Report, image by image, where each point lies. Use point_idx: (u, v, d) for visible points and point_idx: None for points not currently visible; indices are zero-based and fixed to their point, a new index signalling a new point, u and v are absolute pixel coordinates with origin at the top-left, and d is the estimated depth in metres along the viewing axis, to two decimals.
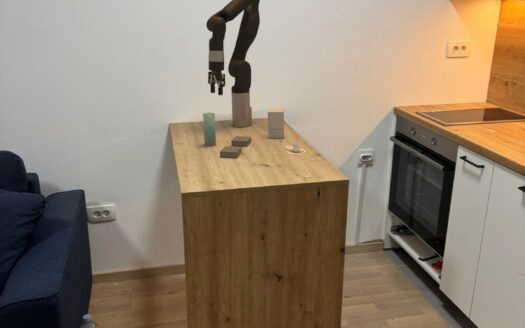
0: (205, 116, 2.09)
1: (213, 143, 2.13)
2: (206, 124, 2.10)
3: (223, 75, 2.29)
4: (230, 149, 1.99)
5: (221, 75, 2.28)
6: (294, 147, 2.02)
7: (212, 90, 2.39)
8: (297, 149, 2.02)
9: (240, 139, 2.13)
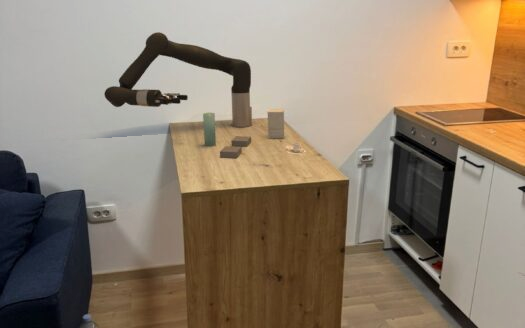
0: (205, 116, 2.09)
1: (213, 143, 2.13)
2: (206, 124, 2.10)
3: (156, 100, 2.07)
4: (230, 149, 1.99)
5: (156, 102, 2.07)
6: (294, 147, 2.02)
7: (184, 98, 2.15)
8: (297, 149, 2.02)
9: (240, 139, 2.13)
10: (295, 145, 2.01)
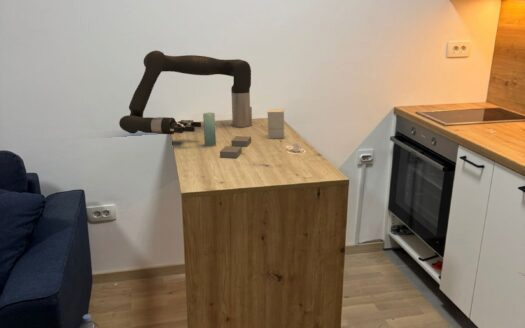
0: (205, 116, 2.09)
1: (213, 143, 2.13)
2: (206, 124, 2.10)
3: (171, 129, 2.10)
4: (230, 149, 1.99)
5: (171, 131, 2.10)
6: (294, 147, 2.02)
7: (197, 125, 2.18)
8: (297, 149, 2.02)
9: (240, 139, 2.13)
10: (295, 145, 2.01)
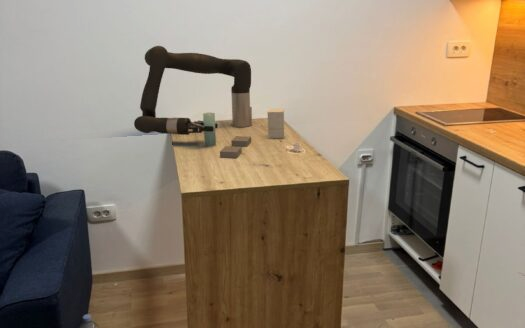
0: (205, 116, 2.09)
1: (213, 143, 2.13)
2: (206, 124, 2.10)
3: (189, 129, 2.08)
4: (230, 149, 1.99)
5: (189, 131, 2.08)
6: (294, 147, 2.02)
7: None
8: (297, 149, 2.02)
9: (240, 139, 2.13)
10: (295, 145, 2.01)
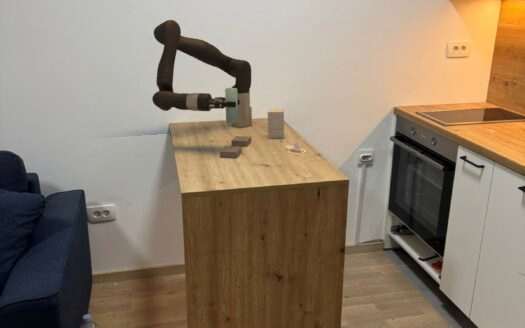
0: (227, 91, 1.99)
1: (235, 120, 2.03)
2: (228, 100, 2.00)
3: (211, 104, 1.98)
4: (230, 149, 1.99)
5: (211, 107, 1.98)
6: (294, 147, 2.02)
7: None
8: (297, 149, 2.02)
9: (240, 139, 2.13)
10: (295, 145, 2.02)
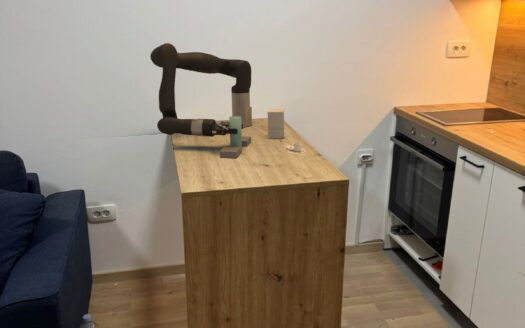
0: (232, 120, 2.02)
1: None
2: None
3: (213, 131, 2.00)
4: (230, 149, 1.99)
5: (213, 133, 2.01)
6: (295, 147, 2.02)
7: None
8: (297, 149, 2.02)
9: None
10: (295, 145, 2.02)
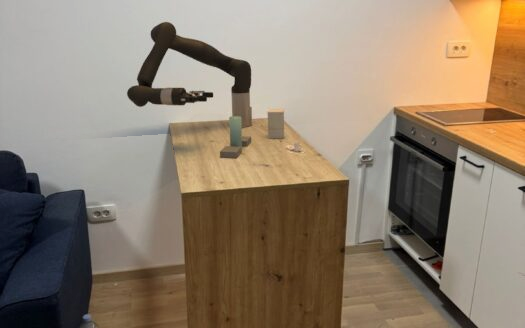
0: (232, 120, 2.02)
1: None
2: (232, 128, 2.03)
3: (182, 98, 1.99)
4: (230, 149, 1.99)
5: (182, 101, 1.99)
6: (295, 146, 2.02)
7: (209, 95, 2.07)
8: (298, 148, 2.03)
9: None
10: (296, 144, 2.02)
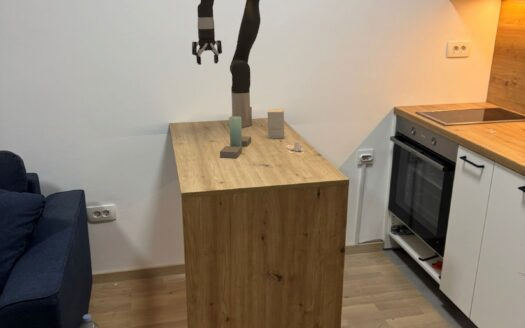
0: (232, 120, 2.02)
1: None
2: (232, 128, 2.03)
3: (193, 43, 2.19)
4: (230, 149, 1.99)
5: (192, 43, 2.19)
6: (295, 146, 2.03)
7: (214, 60, 2.27)
8: (298, 148, 2.03)
9: None
10: (296, 144, 2.02)
